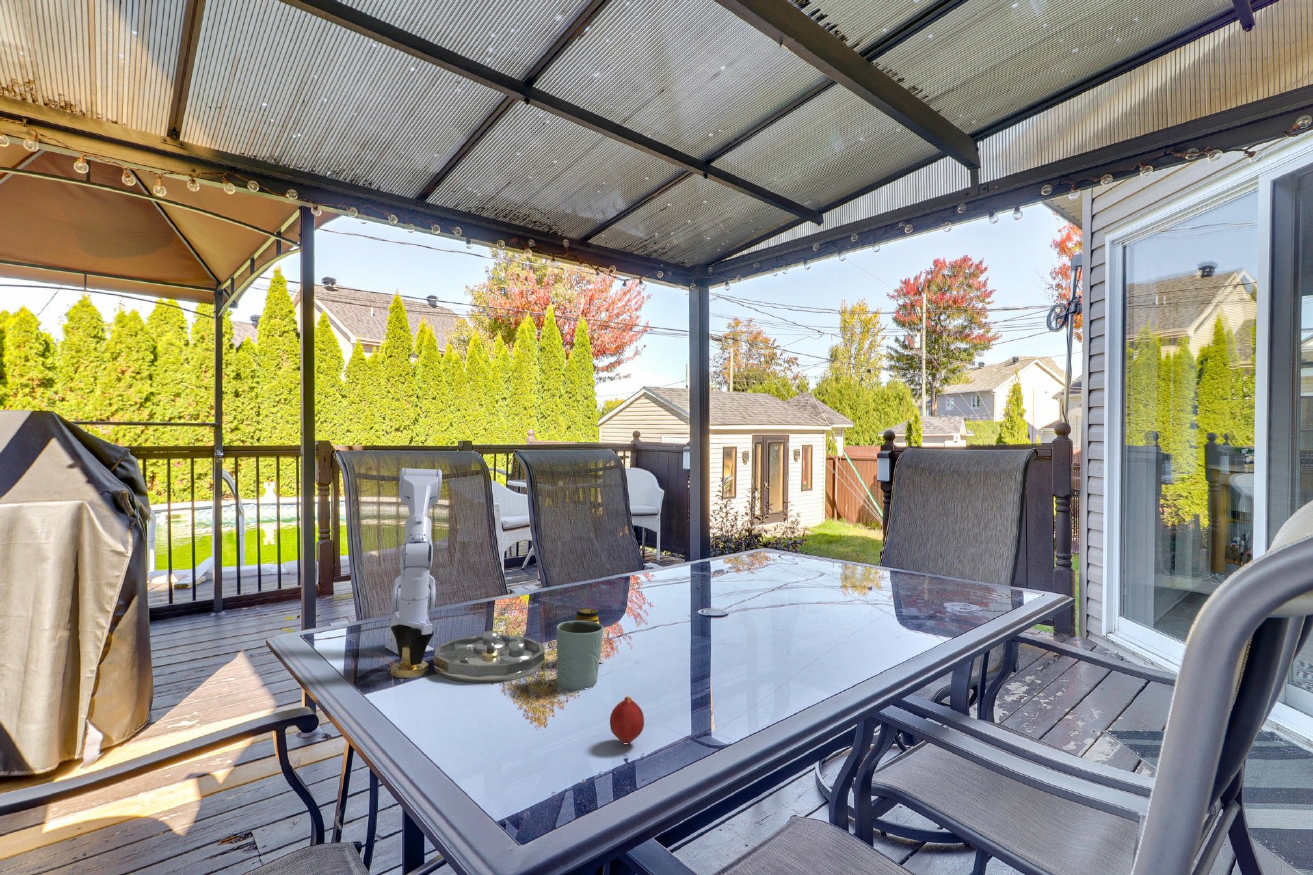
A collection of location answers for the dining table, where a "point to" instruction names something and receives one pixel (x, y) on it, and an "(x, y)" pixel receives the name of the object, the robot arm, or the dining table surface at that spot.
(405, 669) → the brass octagonal knob
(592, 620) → the condiment
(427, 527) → the robot arm
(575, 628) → the green cup
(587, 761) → the dining table surface
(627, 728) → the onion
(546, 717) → the dining table surface
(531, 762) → the dining table surface
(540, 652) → the tray
